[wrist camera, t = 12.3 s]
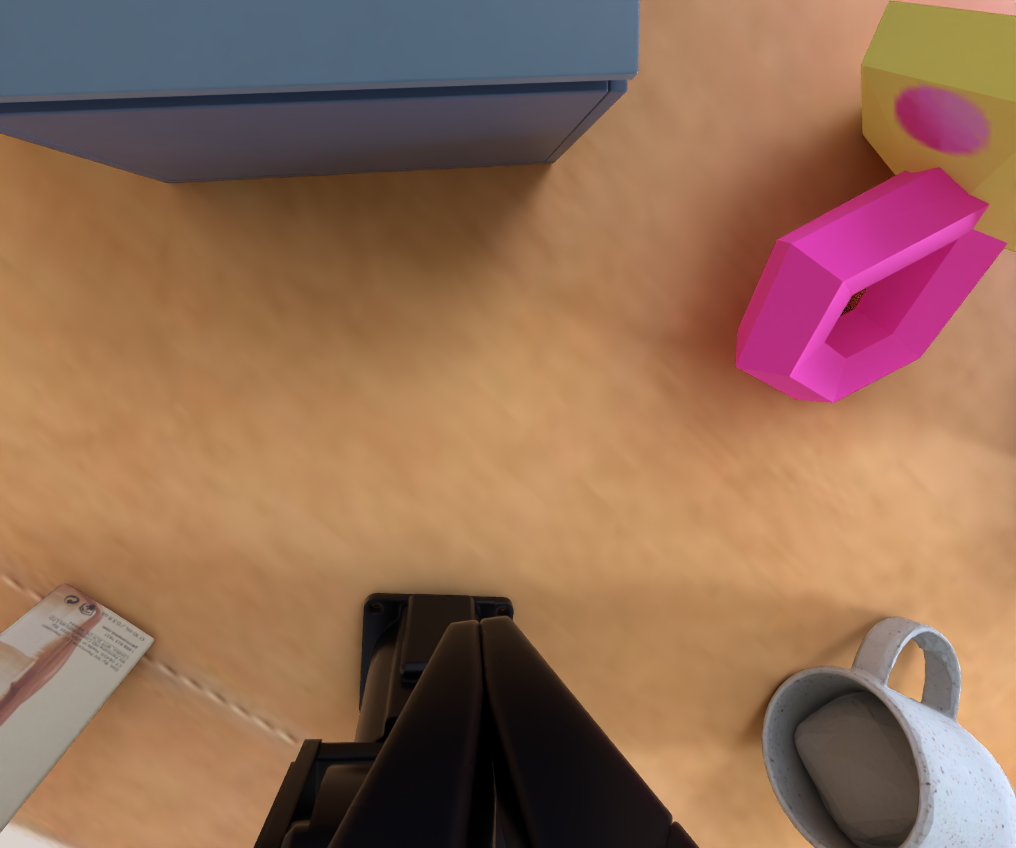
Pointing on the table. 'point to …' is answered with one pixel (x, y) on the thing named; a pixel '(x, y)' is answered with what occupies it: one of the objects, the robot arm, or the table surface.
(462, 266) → the table surface
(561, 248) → the table surface
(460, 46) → the flap
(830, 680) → the ceramic mug
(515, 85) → the carton
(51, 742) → the printed product box
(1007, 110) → the toy
